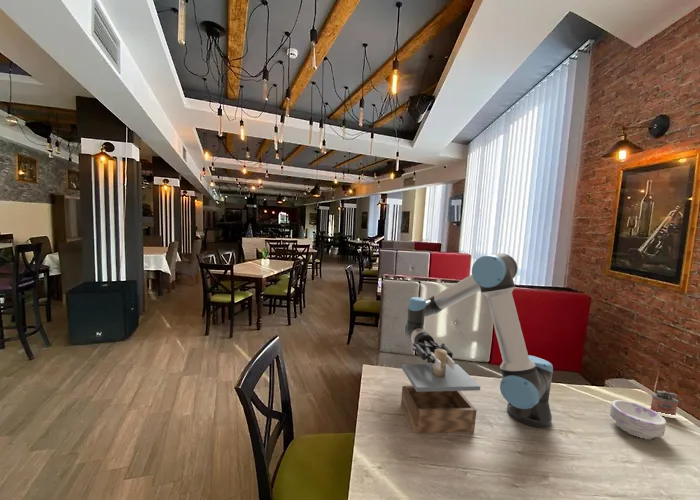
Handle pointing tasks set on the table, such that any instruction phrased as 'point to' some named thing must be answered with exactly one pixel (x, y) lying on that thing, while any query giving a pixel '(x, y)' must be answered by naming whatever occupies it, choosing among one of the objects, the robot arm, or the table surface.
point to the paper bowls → (637, 419)
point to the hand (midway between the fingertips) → (446, 365)
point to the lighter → (664, 402)
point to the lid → (439, 376)
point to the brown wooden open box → (437, 411)
